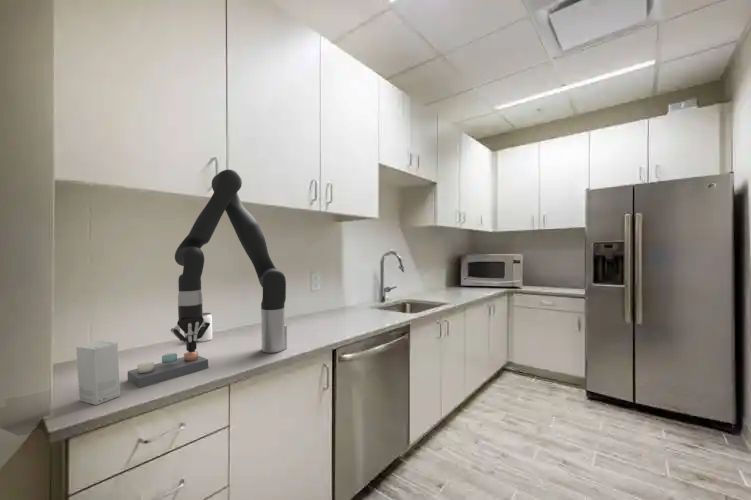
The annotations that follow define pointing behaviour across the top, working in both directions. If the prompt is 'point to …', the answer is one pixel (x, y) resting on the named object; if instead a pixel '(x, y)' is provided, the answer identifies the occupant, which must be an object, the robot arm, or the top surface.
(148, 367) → the cream button
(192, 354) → the terracotta button
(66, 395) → the top surface
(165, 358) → the teal button
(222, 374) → the top surface
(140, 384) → the console
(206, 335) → the can
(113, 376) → the skincare box
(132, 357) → the top surface
